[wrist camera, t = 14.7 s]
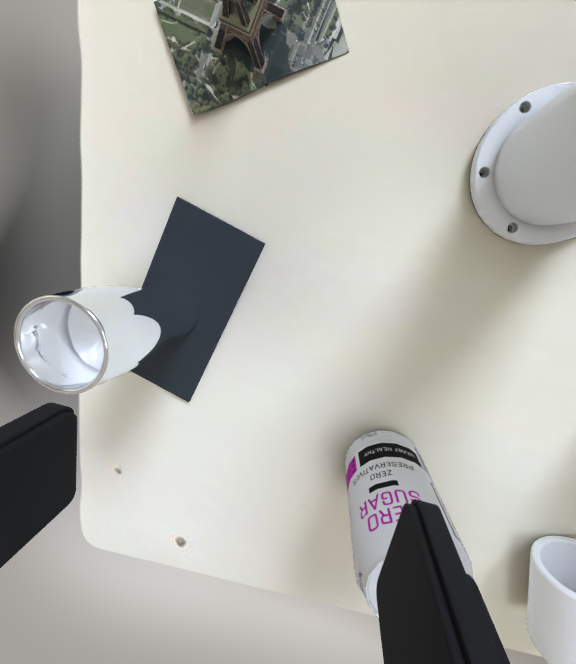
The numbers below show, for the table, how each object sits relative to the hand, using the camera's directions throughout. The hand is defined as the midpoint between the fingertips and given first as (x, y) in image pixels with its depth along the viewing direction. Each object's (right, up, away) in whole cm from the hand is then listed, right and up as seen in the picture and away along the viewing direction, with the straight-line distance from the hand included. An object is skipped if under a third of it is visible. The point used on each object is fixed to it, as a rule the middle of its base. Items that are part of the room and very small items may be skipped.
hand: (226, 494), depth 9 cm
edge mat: (-10, +7, +26) cm, 29 cm away
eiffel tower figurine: (-2, +32, +20) cm, 37 cm away
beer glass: (-11, +7, +26) cm, 29 cm away
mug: (+34, -23, +28) cm, 49 cm away
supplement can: (+12, -10, +27) cm, 32 cm away
